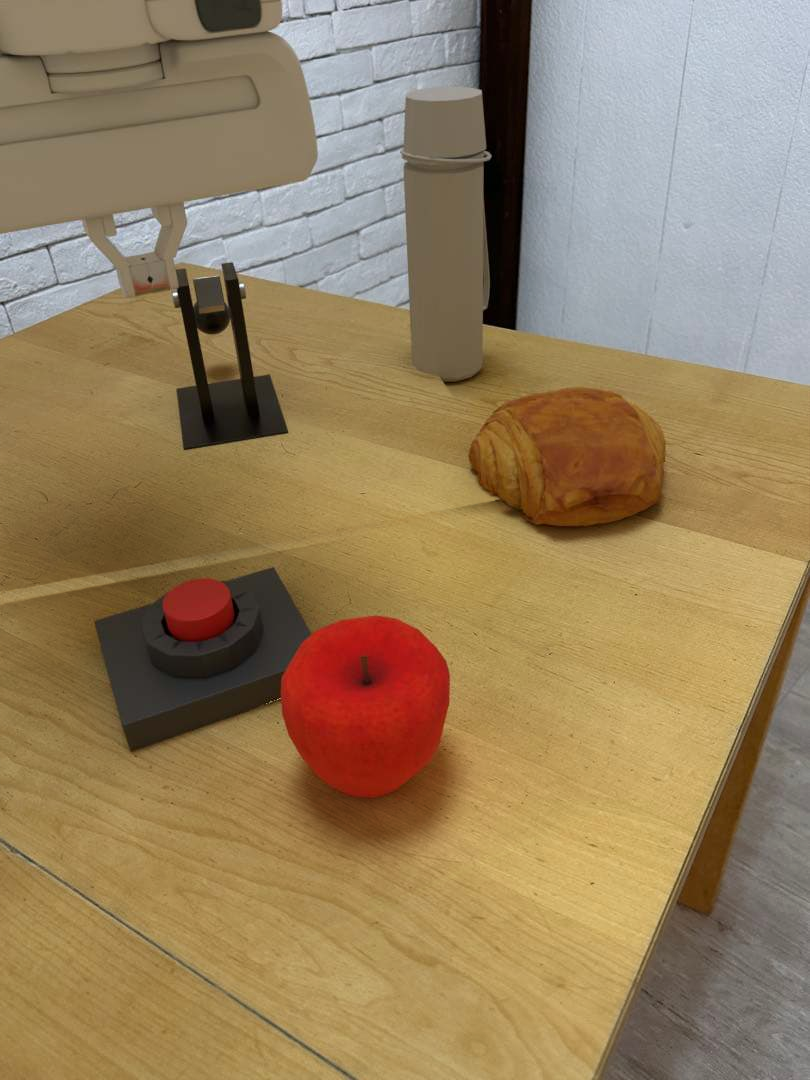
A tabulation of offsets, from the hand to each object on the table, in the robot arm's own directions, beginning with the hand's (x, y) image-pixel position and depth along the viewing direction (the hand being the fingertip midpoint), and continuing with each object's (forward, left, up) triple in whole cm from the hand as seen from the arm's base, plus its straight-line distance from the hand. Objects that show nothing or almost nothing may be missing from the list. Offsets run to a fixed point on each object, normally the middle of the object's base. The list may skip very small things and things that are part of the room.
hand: (150, 290), depth 50 cm
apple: (+4, -19, -22) cm, 29 cm away
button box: (-2, -7, -22) cm, 23 cm away
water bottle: (+31, +24, -22) cm, 45 cm away
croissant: (+29, 0, -22) cm, 36 cm away
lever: (+9, +28, -14) cm, 32 cm away
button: (-2, -7, -18) cm, 19 cm away
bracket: (+8, +24, -22) cm, 33 cm away
